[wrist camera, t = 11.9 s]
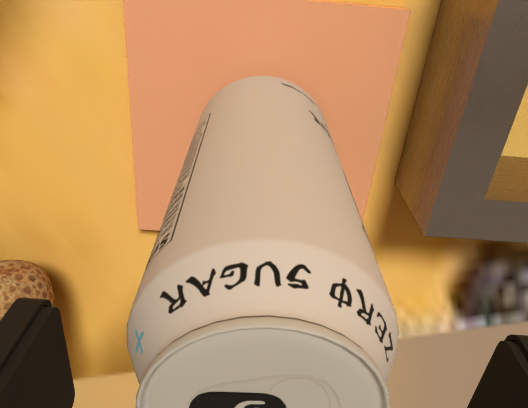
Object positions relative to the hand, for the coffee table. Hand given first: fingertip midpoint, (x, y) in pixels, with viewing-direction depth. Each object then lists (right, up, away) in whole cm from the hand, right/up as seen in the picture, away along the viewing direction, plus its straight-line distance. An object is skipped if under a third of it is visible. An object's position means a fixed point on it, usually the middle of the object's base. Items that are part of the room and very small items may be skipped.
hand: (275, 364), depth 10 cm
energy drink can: (0, +7, +12) cm, 14 cm away
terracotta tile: (-1, +7, +13) cm, 14 cm away
